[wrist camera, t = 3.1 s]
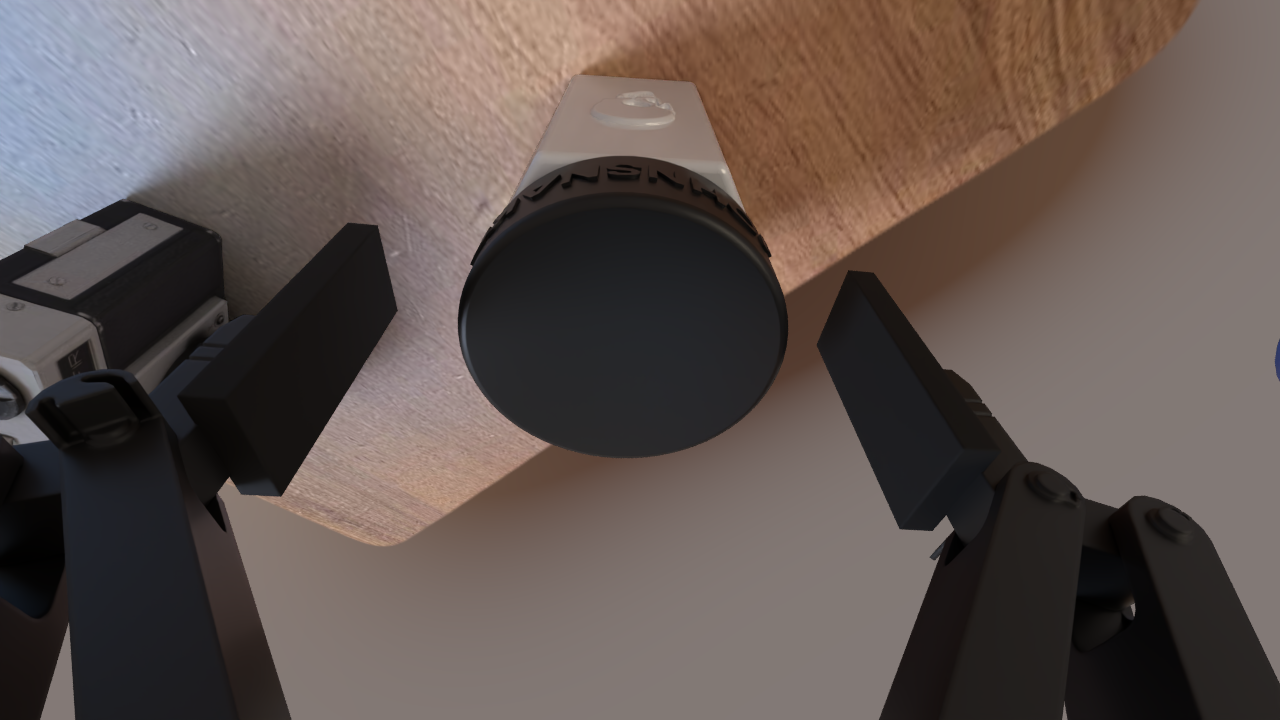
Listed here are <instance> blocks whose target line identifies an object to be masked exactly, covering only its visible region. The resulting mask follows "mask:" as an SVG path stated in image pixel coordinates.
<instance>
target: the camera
mask: <svg viewBox="0 0 1280 720" xmlns="http://www.w3.org/2000/svg"><path fill="white" fill-rule="evenodd" d="M227 323H229V319H228V307H227V301H226V300H224V281H223V263H222V246H221V238H220V236H219V235H218V234H217V233H215V232H213V231H211V230H208V229H206V228H203V227H200V226H198V225H195V224H192V223H189V222H187V221H184V220H181V219H179V218H176V217H173V216H170V215H168V214H165V213H162V212H159V211H157V210H154V209H151V208H148V207H146V206H143V205H140V204H137V203H134V202H132V201H129V200H126V199H121V200H119V201H117V202H115V203H113V204H111V205H109V206H107V207H105V208H103V209H101V210H99V211H97V212H95V213H93V214H91V215H89V216H87V217H85V218H83V219H81V220H78V219H76V220H74V221H72V222H70V223H68V224H65V225H64V226H62V227H60V228H58V229H56V230H54V231H52V232H50V233H48V234H46V235H44V236H42V237H40V238H38V239H36V240H34V241H32V242H30V243H28V244H26V245H24V249H22V250H20V251H18V252H16V253H14V254H12V255H10V256H8V257H6V258H4V259H2V260H0V435H1V436H2V437H3V438H4V439H5V440H6V441H7V442H8V443H9V444H10V445H11V446H12V445H19V444H26V443H32V442H39V441H45V440H49V439H48V438H47V437H46V435H45V434H44V433H43V432H42V431H41V430H40V429H39V428H38V427H37V426H36V425H35V424H34V423H33V422H32V421H31V420H30V419H29V418H28V417H27V416H26V414H25V411H26V408H27V406H28V403H29V402H30V401H31V400H32V399H33V398H34V397H35V396H36V395H38V394H39V393H40V392H41V391H42V390H44V389H46V388H48V387H49V386H51V385H53V384H55V383H57V382H58V381H60V380H63V379H66V378H69V377H71V376H74V375H77V374H80V373H84V372H89V371H95V370H100V369H121V370H124V371H127V372H130V373H133V375H134V376H135V377H136V379H137V380H138V381H139V383H140V384H141V385H142V387H143V388H144V390H145V391H146V393H147V394H148V395H149V394H150V393H151V392H152V391H153V390H154V389H155V388H156V387H157V386H158V385H159V384H160V383H161V382H162V381H163V380H164V379H165V378H166V377H168V376H169V375H170V374H171V373H172V372H173V371H174V370H175V369H176V368H177V367H178V366H179V365H180V364H181V363H182V362H183V361H184V360H185V359H187V360H189V356H190V355H191V354H192V353H193V352H194V351H195V350H196V349H197V348H198V347H199V346H203V342H204V341H205V340H207V339H208V338H209V337H210V336H211V335H212V334H213V333H214V332H215V331H216V330H217V329H218V328H219V327H221V326H223V325H225V324H227Z"/></svg>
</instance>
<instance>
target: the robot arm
mask: <svg viewBox="0 0 1280 720" xmlns="http://www.w3.org/2000/svg"><path fill="white" fill-rule="evenodd" d="M397 311H398V310H397V306H396V301H395V297H394V293H393V289H392V284H391V280H390V276H389V271H388V267H387V263H386V259H385V254H384V250H383V246H382V242H381V237H380V233H379V229H378V225H367V224H357V223H347V224H346V225H345V226H344V227H343V228H342V229H341V230H340V231H339V232H338V233H337V234H336V235H335V236H334V237H333V238H332V239H331V240H330V241H329V242H328V243H327V244H326V245H325V246H324V247H323V248H322V249H321V250H320V251H319V252H318V253H317V254H316V255H315V257H314V258H313V259H312V260H311V261H310V262H309V263H308V264H307V265H306V266H305V267H304V268H303V269H302V270H301V271H300V272H299V273H298V274H297V275H296V276H295V277H294V278H293V279H292V280H291V281H290V282H289V283H288V284H287V285H286V286H285V287H284V288H283V289H282V290H281V291H280V292H279V293H278V294H277V295H276V296H275V297H274V298H273V299H272V300H271V301H270V302H269V303H268V304H267V305H266V306H265V307H264V308H263V309H262V310H261V311H260V312H259V313H258V314H257V315H256V316H254V315H242V316H240V317H238V318H236V319H234V320H232V321H230V322H229V323H227V324H225V325H223V326H221V327H219V328H218V329H217V330H216V331H215V332H214V333H213V334H212V335H211V336H210V337H209V338H208V339H207V340H205V341H204V342H203V346H199V347H198V348H197V349H196V350H195V351H194V352H193V353H192V354H191V355H190V356H189V360H187V359H185V360H184V361H183V362H182V363H181V364H180V365H179V366H178V367H177V368H176V369H175V370H174V371H173V372H172V373H171V374H170V375H169V376H168V377H166V378H165V379H164V380H163V381H162V382H161V383H160V384H159V385H158V386H157V387H156V388H155V389H154V390H153V391H152V392H151V393H150V394H149V395H148V394H147V393H146V391H145V390H144V388H143V387H142V385H141V384H140V383H139V381H138V380H137V379H136V377H135V376H134V375H133V373H130V372H127V371H124V370H121V369H100V370H95V371H89V372H84V373H80V374H77V375H74V376H71V377H69V378H66V379H63V380H60V381H58V382H57V383H55V384H53V385H51V386H49V387H48V388H46V389H44V390H42V391H41V392H40V393H39V394H38V395H36V396H35V397H34V398H33V399H32V400H31V401H30V402H29V403H28V406H27V408H26V411H25V414H26V416H27V417H28V418H29V419H30V420H31V421H32V422H33V423H34V424H35V425H36V426H37V427H38V428H39V429H40V430H41V431H42V432H43V433H44V434H45V435H46V437H47V438H48V439H49V440H45V441H39V442H32V443H26V444H19V445H12V446H11V445H10V444H9V443H8V442H7V441H6V440H5V439H4V438H3V437H2V436H1V435H0V720H40V718H41V714H42V711H43V708H44V704H45V701H46V698H47V694H48V691H49V687H50V684H51V681H52V677H53V674H54V670H55V667H56V664H57V660H58V657H59V653H60V650H61V647H62V643H63V640H64V636H65V633H66V629H67V626H68V623H69V626H70V642H71V659H72V674H73V690H74V706H75V720H291V717H290V713H289V710H288V707H287V704H286V701H285V697H284V694H283V691H282V688H281V684H280V681H279V678H278V675H277V672H276V669H275V665H274V662H273V659H272V655H271V652H270V649H269V646H268V643H267V640H266V636H265V633H264V630H263V627H262V623H261V620H260V617H259V614H258V611H257V607H256V604H255V601H254V598H253V594H252V591H251V588H250V585H249V581H248V578H247V575H246V572H245V569H244V566H243V562H242V559H241V556H240V553H239V550H238V546H237V543H236V540H235V536H234V533H233V530H232V527H231V524H230V520H229V517H228V514H227V511H226V508H225V504H224V502H223V500H222V499H221V498H220V496H219V495H218V493H217V492H218V491H219V490H220V488H221V487H222V486H223V484H224V483H225V482H226V480H227V479H228V478H229V477H230V478H231V480H232V481H233V483H234V484H235V486H236V487H237V489H238V490H239V492H240V493H241V494H243V495H261V496H280V497H281V496H282V495H283V493H284V491H285V490H286V488H287V487H288V485H289V483H290V482H291V480H292V479H293V477H294V475H295V474H296V472H297V471H298V469H299V467H300V466H301V464H302V463H303V461H304V459H305V458H306V456H307V455H308V453H309V451H310V450H311V448H312V447H313V445H314V443H315V442H316V440H317V439H318V437H319V435H320V434H321V432H322V431H323V429H324V427H325V426H326V424H327V423H328V421H329V419H330V418H331V416H332V415H333V413H334V411H335V410H336V408H337V407H338V405H339V403H340V402H341V400H342V399H343V397H344V395H345V394H346V392H347V391H348V389H349V387H350V386H351V384H352V383H353V381H354V379H355V378H356V376H357V375H358V373H359V371H360V370H361V368H362V367H363V365H364V363H365V362H366V360H367V359H368V357H369V355H370V354H371V352H372V351H373V349H374V347H375V346H376V344H377V343H378V341H379V339H380V338H381V336H382V335H383V333H384V331H385V330H386V328H387V327H388V325H389V323H390V322H391V320H392V319H393V317H394V315H395V314H396V312H397ZM817 347H818V349H819V351H820V354H821V356H822V358H823V360H824V363H825V365H826V367H827V369H828V371H829V374H830V376H831V378H832V380H833V382H834V384H835V387H836V389H837V391H838V393H839V396H840V398H841V400H842V402H843V405H844V407H845V409H846V411H847V413H848V416H849V418H850V420H851V422H852V425H853V427H854V429H855V431H856V433H857V436H858V438H859V440H860V442H861V444H862V447H863V449H864V451H865V453H866V456H867V458H868V460H869V462H870V464H871V467H872V469H873V471H874V473H875V475H876V477H877V480H878V482H879V484H880V487H881V489H882V491H883V493H884V495H885V498H886V500H887V502H888V504H889V507H890V509H891V511H892V513H893V515H894V518H895V520H896V522H897V524H898V526H899V529H906V530H924V531H933V530H934V528H935V527H936V526H937V525H938V524H939V523H940V521H941V520H942V519H943V518H944V517H945V516H946V515H947V517H948V519H949V521H950V522H951V524H952V526H953V528H954V531H953V532H952V533H951V534H950V535H949V536H948V537H947V538H946V540H945V541H944V542H943V543H942V544H941V545H940V546H939V547H938V548H937V549H936V550H935V552H934V553H933V554H932V555H931V556H930V558H931V559H933V560H936V558H937V557H938V556H939V555H940V557H939V560H938V563H937V565H936V568H935V571H934V573H933V576H932V579H931V582H930V584H929V587H928V590H927V593H926V595H925V598H924V600H923V603H922V606H921V608H920V611H919V614H918V616H917V619H916V622H915V624H914V627H913V630H912V633H911V635H910V638H909V641H908V643H907V646H906V649H905V651H904V654H903V657H902V659H901V662H900V665H899V667H898V671H897V673H896V675H895V678H894V681H893V684H892V686H891V689H890V692H889V694H888V697H887V700H886V703H885V705H884V708H883V710H882V713H881V716H880V718H879V720H1062V716H1063V707H1064V701H1065V707H1066V713H1067V719H1068V720H1280V683H1279V681H1278V679H1277V677H1276V675H1275V673H1274V671H1273V669H1272V667H1271V664H1270V662H1269V660H1268V658H1267V656H1266V654H1265V652H1264V650H1263V648H1262V646H1261V644H1260V641H1259V639H1258V637H1257V635H1256V633H1255V631H1254V629H1253V627H1252V625H1251V623H1250V621H1249V619H1248V617H1247V614H1246V612H1245V610H1244V608H1243V606H1242V604H1241V602H1240V600H1239V598H1238V596H1237V593H1236V591H1235V589H1234V588H1233V585H1232V583H1231V581H1230V579H1229V577H1228V575H1227V573H1226V570H1225V568H1224V566H1223V564H1222V562H1221V560H1220V558H1219V556H1218V554H1217V552H1216V549H1215V547H1214V545H1213V543H1212V541H1211V540H1210V538H1209V537H1208V535H1207V534H1206V533H1205V531H1204V530H1203V529H1202V528H1201V527H1200V526H1199V525H1198V524H1197V523H1196V522H1195V521H1194V520H1192V518H1191V517H1190V516H1188V515H1187V514H1186V513H1184V512H1182V511H1181V510H1180V509H1178V508H1176V507H1174V506H1172V505H1170V504H1168V503H1165V502H1163V501H1161V500H1159V499H1155V498H1152V497H1148V496H1134V497H1133V498H1131V499H1130V500H1129V501H1128V502H1126V503H1125V504H1124V505H1123V506H1121V507H1120V508H1119V509H1117V508H1114V507H1111V506H1107V505H1104V504H1101V503H1098V502H1095V501H1092V500H1088V499H1085V498H1084V497H1083V496H1082V494H1081V493H1080V492H1079V490H1078V489H1077V487H1076V486H1075V485H1073V484H1072V483H1071V482H1070V481H1069V480H1068V479H1067V478H1066V477H1064V476H1063V475H1061V474H1059V473H1058V472H1056V471H1054V470H1053V469H1051V468H1049V467H1046V466H1044V465H1041V464H1039V463H1034V462H1028V461H1027V459H1026V458H1025V457H1024V455H1023V454H1022V453H1021V451H1020V450H1019V449H1018V447H1017V446H1016V445H1015V443H1014V442H1013V441H1012V439H1011V438H1010V437H1009V435H1008V434H1007V433H1006V432H1005V430H1004V429H1003V427H1002V426H1001V425H1000V423H999V422H998V421H997V419H996V418H995V417H992V413H991V412H990V410H989V409H988V408H987V407H986V405H985V404H983V403H982V400H981V398H980V397H979V396H978V394H977V393H976V392H975V390H974V389H973V388H972V386H971V385H970V384H969V383H968V382H966V381H965V380H964V379H962V378H961V377H960V376H959V375H958V374H956V373H955V372H954V371H953V370H946V369H942V367H941V366H940V364H939V363H938V362H937V360H936V359H935V357H934V356H933V355H932V353H931V352H930V351H929V349H928V348H927V346H926V345H925V343H924V342H923V341H922V339H921V338H920V337H919V335H918V334H917V332H916V331H915V330H914V328H913V327H912V325H911V324H910V323H909V321H908V320H907V318H906V317H905V316H904V314H903V313H902V312H901V310H900V309H899V307H898V306H897V304H896V303H895V302H894V300H893V299H892V298H891V296H890V295H889V293H888V292H887V291H886V289H885V288H884V286H883V285H882V284H881V282H880V281H879V280H878V278H877V277H876V275H875V274H874V273H871V272H860V271H849V270H848V272H847V275H846V277H845V279H844V282H843V284H842V286H841V289H840V291H839V294H838V296H837V298H836V301H835V303H834V305H833V308H832V310H831V312H830V315H829V317H828V319H827V322H826V324H825V326H824V329H823V331H822V334H821V336H820V338H819V341H818V343H817ZM1134 603H1135V609H1136V610H1135V616H1133V612H1132V609H1131V606H1130V605H1132V604H1134Z"/></svg>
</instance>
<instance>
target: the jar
mask: <svg viewBox="0 0 1280 720" xmlns="http://www.w3.org/2000/svg"><path fill="white" fill-rule="evenodd" d="M493 224H494V226H493V227H490V228H489V229H488V231H487V232H486V234H485V236H484V238H483V240H482V241H481V243H480V245H479V247H478V249H477V251H476V253H475V255H474V257H473V259H472V262H471V264H470V265H472V266H473V267H472V269H471V271H470V273H469V275H468V277H467V280H466V282H465V285H464V288H463V291H462V295H461V298H460V304H459V312H458V335H459V342H460V347H461V351H462V354H463V358H464V360H465V363H466V365H467V368H468V370H469V372H470V374H471V376H472V378H473V380H474V381H475V383H476V384H477V386H478V387H479V389H480V390H481V392H482V393H483V394H484V396H485V397H486V398H487V399H488V400H489V402H490V403H491V404H492V405H493V406H494V407H495V408H496V409H497V410H498V411H499V412H500V413H501V414H503V415H504V416H505V417H506V418H507V419H508V420H510V421H511V422H512V423H514V424H515V425H517V426H518V427H519V428H521V429H523V430H524V431H526V432H528V433H529V434H531V435H533V436H535V437H537V438H539V439H541V440H543V441H545V442H548V443H550V444H553V445H555V446H558V447H561V448H564V449H567V450H571V451H575V452H578V453H583V454H588V455H593V456H600V457H611V458H639V457H640V458H642V457H650V456H658V455H664V454H669V453H673V452H677V451H681V450H684V449H687V448H690V447H693V446H696V445H698V444H701V443H703V442H706V441H708V440H710V439H712V438H714V437H716V436H718V435H719V434H721V433H723V432H724V431H726V430H727V429H729V428H731V427H732V426H733V425H735V424H736V423H738V422H739V421H740V420H741V419H743V418H744V417H745V416H746V415H747V414H748V413H749V412H750V411H751V410H752V409H753V408H754V407H755V406H756V405H757V404H758V403H759V402H760V400H761V399H762V398H763V397H764V395H765V394H766V393H767V391H768V390H769V388H770V386H771V385H772V384H773V382H774V380H775V378H776V376H777V374H778V372H779V369H780V367H781V364H782V362H783V359H784V355H785V351H786V346H787V338H788V315H787V309H786V303H785V299H784V295H783V292H782V289H781V287H780V284H779V282H778V279H777V277H776V274H775V272H774V269H773V267H772V265H771V262H770V260H769V257H771V253H770V251H769V249H768V247H767V244H766V242H765V241H764V239H763V237H762V236H761V234H760V235H759V234H758V232H757V230H756V228H755V226H754V225H753V223H752V221H751V220H750V218H749V217H748V215H747V214H746V212H745V209H744V207H743V204H742V201H741V199H740V196H739V194H738V191H737V188H736V186H735V183H734V181H733V178H732V175H731V173H730V170H729V168H728V165H727V163H726V160H725V158H724V155H723V153H722V150H721V148H720V145H719V143H718V140H717V138H716V135H715V133H714V130H713V128H712V125H711V123H710V120H709V118H708V115H707V113H706V110H705V108H704V105H703V103H702V100H701V98H700V95H699V93H698V90H697V88H696V86H695V84H694V83H692V82H687V81H670V80H655V79H640V78H625V77H610V76H596V75H582V74H577V75H574V76H573V77H572V78H571V80H570V82H569V84H568V86H567V88H566V90H565V92H564V94H563V96H562V98H561V100H560V102H559V104H558V106H557V108H556V110H555V112H554V114H553V116H552V118H551V120H550V122H549V123H548V125H547V127H546V129H545V131H544V133H543V135H542V137H541V139H540V141H539V143H538V145H537V147H536V149H535V151H534V153H533V155H532V157H531V159H530V161H529V163H528V165H527V167H526V169H525V170H524V172H523V174H522V177H521V179H520V181H519V183H518V185H517V187H516V189H515V191H514V193H513V195H512V197H511V199H510V201H509V203H508V205H507V207H506V208H505V209H504V210H503V212H502V213H501V214H500V215H499V216H498V217H497V218H496V219H495V221H494V222H493Z"/></svg>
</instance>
